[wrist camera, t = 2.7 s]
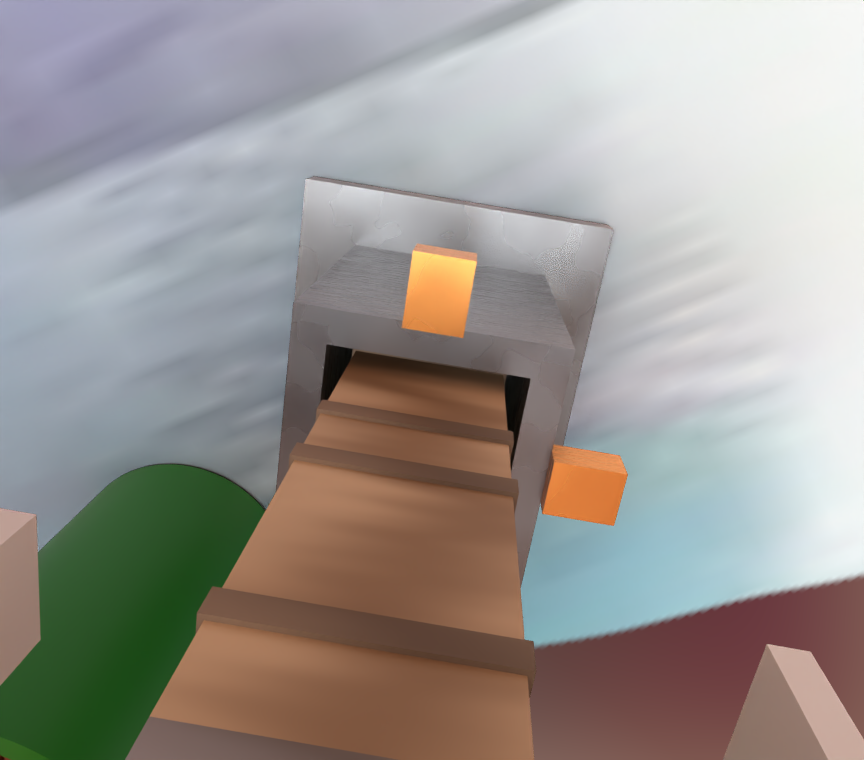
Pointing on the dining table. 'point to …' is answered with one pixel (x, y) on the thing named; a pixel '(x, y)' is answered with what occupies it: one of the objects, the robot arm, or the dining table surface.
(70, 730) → the motor
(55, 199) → the dining table surface
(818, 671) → the robot arm
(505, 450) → the column
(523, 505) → the stand base
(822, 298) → the dining table surface
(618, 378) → the dining table surface
